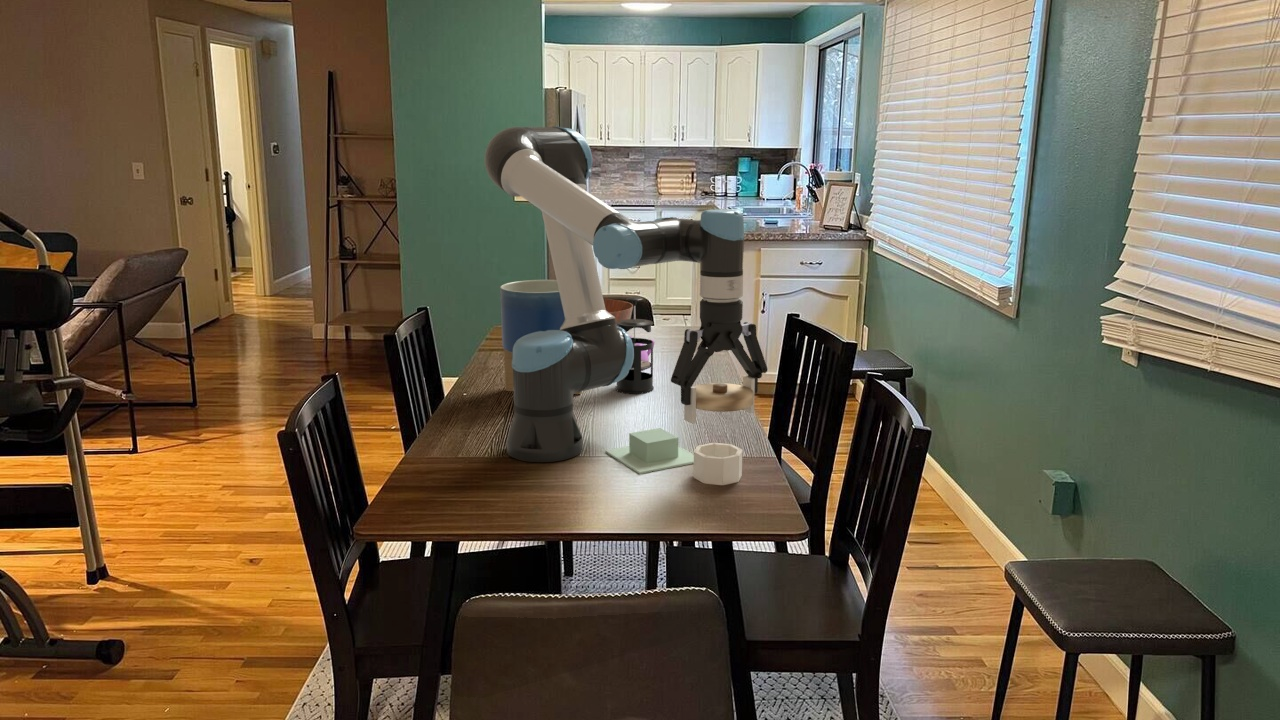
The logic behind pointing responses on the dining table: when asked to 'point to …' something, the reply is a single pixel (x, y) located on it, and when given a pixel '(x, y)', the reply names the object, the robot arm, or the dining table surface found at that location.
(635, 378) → the french press
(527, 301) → the planter
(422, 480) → the dining table surface
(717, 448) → the ramekin
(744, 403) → the lid
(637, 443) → the mat stand
